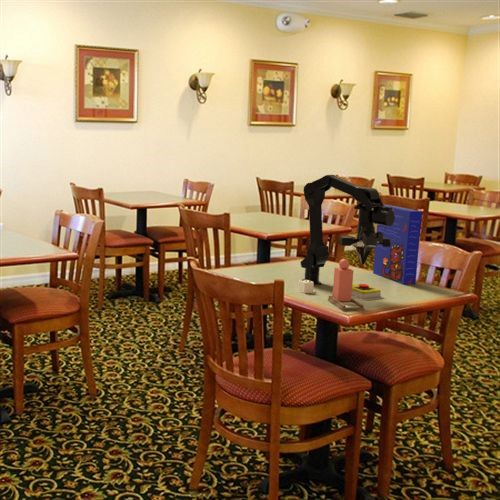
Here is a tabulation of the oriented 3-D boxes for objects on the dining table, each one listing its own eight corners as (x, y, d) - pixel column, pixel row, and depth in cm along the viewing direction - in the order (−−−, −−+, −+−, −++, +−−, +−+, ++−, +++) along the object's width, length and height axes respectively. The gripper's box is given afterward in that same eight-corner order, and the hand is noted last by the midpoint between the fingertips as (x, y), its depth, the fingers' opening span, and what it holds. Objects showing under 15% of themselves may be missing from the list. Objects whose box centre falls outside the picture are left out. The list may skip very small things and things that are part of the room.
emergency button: (366, 290, 240) (339, 281, 252) (365, 301, 241) (338, 292, 253) (385, 287, 245) (357, 279, 257) (384, 299, 246) (356, 290, 258)
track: (327, 300, 237) (328, 295, 237) (347, 300, 239) (348, 295, 239) (342, 311, 224) (343, 305, 224) (363, 310, 226) (364, 305, 226)
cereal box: (415, 284, 272) (422, 211, 267) (403, 284, 270) (410, 211, 265) (384, 272, 292) (390, 204, 287) (373, 273, 290) (378, 204, 284)
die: (298, 290, 251) (298, 279, 250) (307, 290, 252) (307, 278, 252) (304, 293, 247) (304, 281, 246) (313, 292, 249) (313, 281, 248)
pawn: (332, 297, 237) (335, 257, 234) (345, 297, 238) (348, 257, 235) (337, 301, 232) (340, 260, 229) (351, 301, 233) (354, 260, 231)
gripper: (347, 225, 235) (344, 268, 238) (398, 226, 238) (394, 269, 241) (339, 220, 246) (335, 262, 249) (387, 222, 249) (383, 263, 252)
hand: (362, 264), depth 247 cm, fingers closed
